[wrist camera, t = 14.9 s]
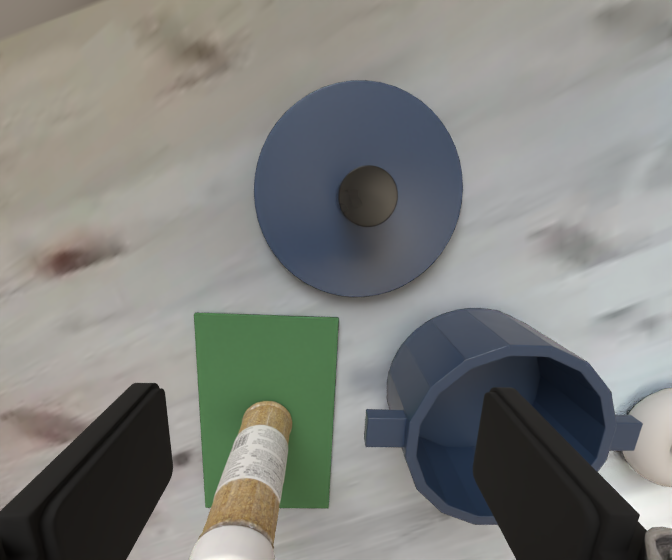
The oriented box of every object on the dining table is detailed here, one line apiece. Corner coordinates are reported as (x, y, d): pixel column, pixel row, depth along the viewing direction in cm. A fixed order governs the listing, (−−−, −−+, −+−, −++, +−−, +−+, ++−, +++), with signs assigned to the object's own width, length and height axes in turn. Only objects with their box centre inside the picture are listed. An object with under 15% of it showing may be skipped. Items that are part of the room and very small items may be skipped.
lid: (256, 78, 23) (232, 36, 17) (470, 93, 24) (520, 57, 18) (258, 289, 27) (238, 315, 21) (443, 296, 28) (476, 323, 22)
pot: (362, 303, 27) (376, 340, 20) (589, 311, 28) (680, 350, 21) (352, 449, 31) (360, 524, 24) (554, 452, 32) (621, 525, 25)
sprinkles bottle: (262, 449, 30) (214, 640, 17) (232, 413, 29) (158, 588, 16) (303, 425, 30) (287, 603, 17) (274, 389, 29) (233, 547, 16)
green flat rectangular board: (195, 312, 27) (193, 314, 27) (338, 317, 28) (338, 319, 27) (206, 504, 32) (205, 507, 32) (328, 505, 32) (328, 508, 32)
